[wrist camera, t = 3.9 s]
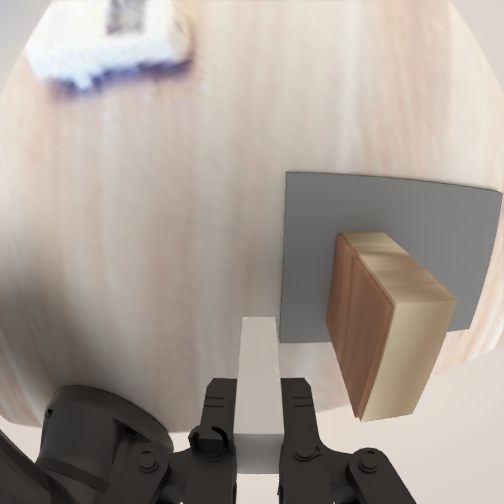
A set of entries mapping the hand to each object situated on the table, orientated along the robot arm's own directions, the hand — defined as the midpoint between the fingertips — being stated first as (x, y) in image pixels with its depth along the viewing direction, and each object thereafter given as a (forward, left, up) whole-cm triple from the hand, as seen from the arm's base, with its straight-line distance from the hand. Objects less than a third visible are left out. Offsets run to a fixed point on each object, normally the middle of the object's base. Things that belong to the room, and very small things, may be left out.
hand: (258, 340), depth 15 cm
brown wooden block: (+7, 0, -6) cm, 9 cm away
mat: (+10, +1, -7) cm, 12 cm away
